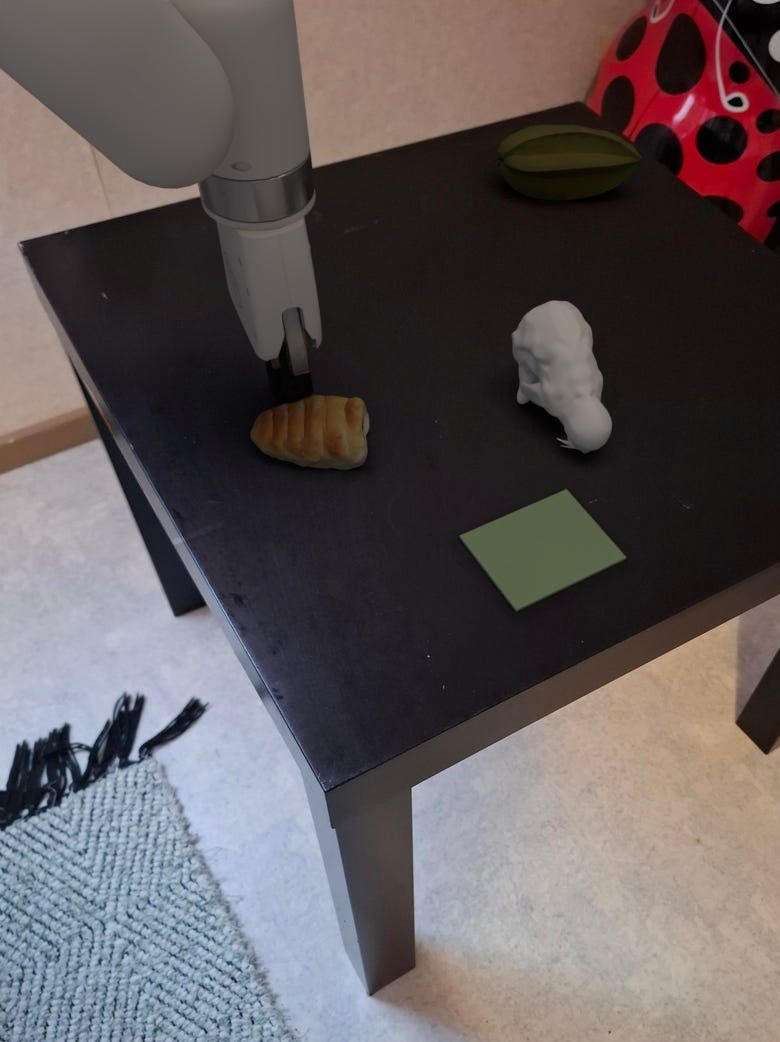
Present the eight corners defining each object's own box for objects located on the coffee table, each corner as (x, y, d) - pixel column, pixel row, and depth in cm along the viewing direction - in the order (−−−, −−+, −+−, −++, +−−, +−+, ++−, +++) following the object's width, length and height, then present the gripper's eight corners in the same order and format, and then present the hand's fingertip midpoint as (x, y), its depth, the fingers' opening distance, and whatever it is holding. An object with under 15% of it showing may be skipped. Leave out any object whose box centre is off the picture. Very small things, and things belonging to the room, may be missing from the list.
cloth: (515, 612, 66) (516, 609, 65) (459, 538, 69) (459, 535, 69) (625, 559, 69) (626, 557, 69) (566, 491, 73) (566, 488, 72)
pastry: (251, 474, 72) (243, 438, 69) (256, 415, 75) (249, 379, 72) (370, 472, 73) (368, 437, 69) (369, 414, 76) (367, 378, 73)
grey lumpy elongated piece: (582, 281, 74) (650, 386, 69) (563, 360, 81) (624, 460, 76) (511, 297, 72) (575, 406, 67) (499, 376, 79) (556, 479, 74)
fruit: (556, 151, 101) (564, 88, 96) (638, 197, 97) (652, 135, 91) (484, 187, 96) (488, 123, 91) (567, 238, 92) (577, 174, 87)
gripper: (172, 129, 62) (223, 347, 78) (229, 253, 55) (273, 467, 70) (278, 111, 64) (308, 328, 79) (347, 229, 57) (365, 442, 72)
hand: (292, 393), depth 75 cm, fingers closed
